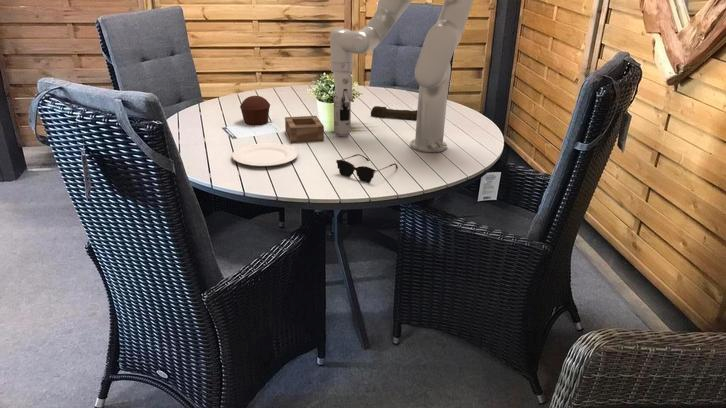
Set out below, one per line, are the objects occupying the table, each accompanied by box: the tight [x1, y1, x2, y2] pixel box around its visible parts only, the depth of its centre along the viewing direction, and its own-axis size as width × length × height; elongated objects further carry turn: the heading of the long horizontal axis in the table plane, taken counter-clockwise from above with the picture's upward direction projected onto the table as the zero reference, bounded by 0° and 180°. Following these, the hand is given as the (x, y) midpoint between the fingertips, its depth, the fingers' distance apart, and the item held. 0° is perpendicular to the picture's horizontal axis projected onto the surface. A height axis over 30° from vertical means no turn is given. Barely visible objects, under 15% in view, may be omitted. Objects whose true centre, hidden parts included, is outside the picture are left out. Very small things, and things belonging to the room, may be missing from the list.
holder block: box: [284, 115, 325, 144], centre depth 192 cm, size 14×12×6 cm
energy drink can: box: [333, 95, 352, 137], centre depth 192 cm, size 6×6×15 cm
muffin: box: [239, 95, 271, 127], centre depth 205 cm, size 12×11×10 cm
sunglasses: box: [335, 153, 399, 184], centre depth 164 cm, size 14×16×5 cm
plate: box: [231, 142, 299, 168], centre depth 172 cm, size 21×21×2 cm
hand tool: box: [370, 105, 417, 121], centre depth 218 cm, size 19×4×5 cm, turn 79°
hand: (342, 117), depth 192 cm, fingers closed on energy drink can, 6 cm apart
